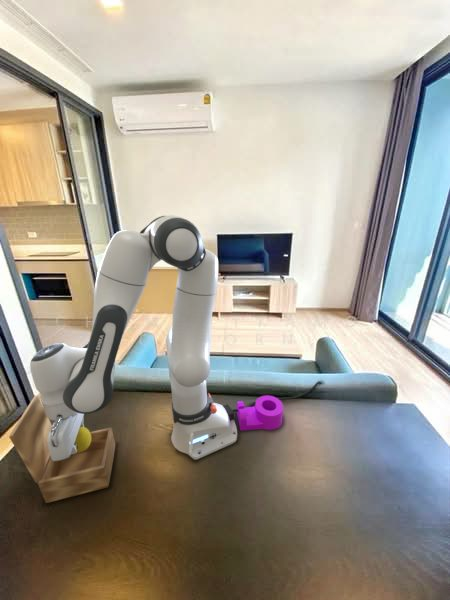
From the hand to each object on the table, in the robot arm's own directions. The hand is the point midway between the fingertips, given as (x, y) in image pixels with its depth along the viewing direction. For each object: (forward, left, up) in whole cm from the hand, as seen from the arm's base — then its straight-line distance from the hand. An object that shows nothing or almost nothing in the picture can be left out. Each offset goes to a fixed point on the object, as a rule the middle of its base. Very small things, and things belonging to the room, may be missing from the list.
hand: (77, 440), depth 70 cm
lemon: (-1, 0, -4) cm, 4 cm away
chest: (+1, 0, -12) cm, 12 cm away
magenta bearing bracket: (-57, -4, -12) cm, 59 cm away
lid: (+9, 0, +4) cm, 10 cm away
